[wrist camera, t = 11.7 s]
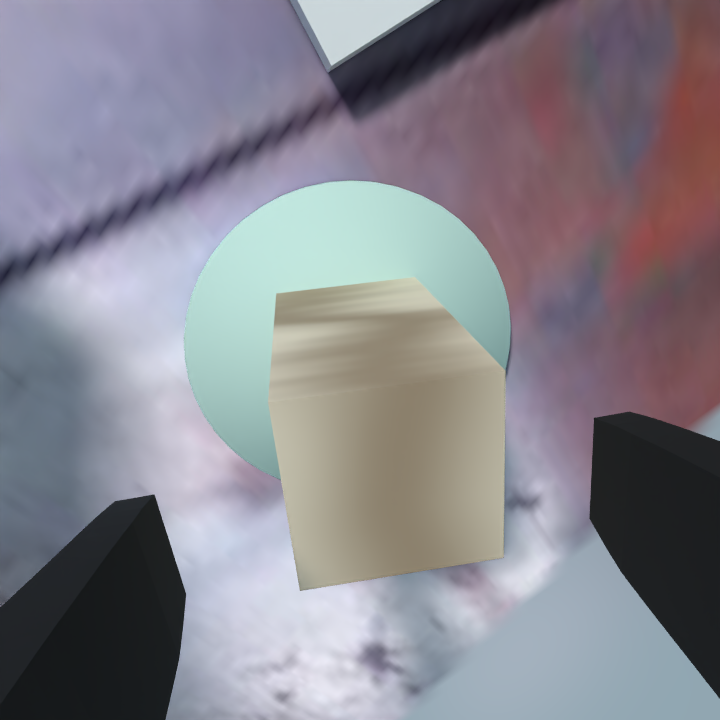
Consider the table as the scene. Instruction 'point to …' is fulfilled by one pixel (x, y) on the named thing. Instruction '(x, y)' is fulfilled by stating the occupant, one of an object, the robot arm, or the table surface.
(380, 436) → the maple block
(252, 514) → the table surface
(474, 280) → the coaster
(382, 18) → the frame
